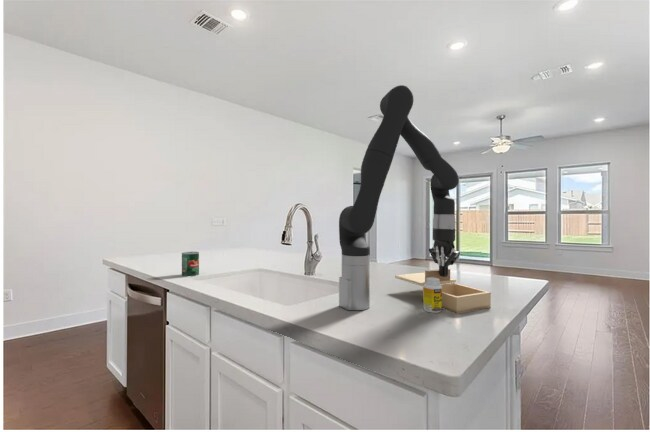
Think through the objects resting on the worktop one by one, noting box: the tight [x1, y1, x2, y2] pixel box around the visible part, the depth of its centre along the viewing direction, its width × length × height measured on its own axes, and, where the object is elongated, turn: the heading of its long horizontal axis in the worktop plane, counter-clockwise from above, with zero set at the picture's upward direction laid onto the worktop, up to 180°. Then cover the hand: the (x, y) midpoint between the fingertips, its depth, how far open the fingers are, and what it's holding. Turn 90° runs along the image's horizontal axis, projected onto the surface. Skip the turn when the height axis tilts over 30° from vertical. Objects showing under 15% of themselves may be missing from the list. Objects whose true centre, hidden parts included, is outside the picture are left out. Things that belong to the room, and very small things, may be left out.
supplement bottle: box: [422, 277, 443, 314], centre depth 103 cm, size 6×6×10 cm
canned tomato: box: [181, 251, 200, 277], centre depth 159 cm, size 8×8×11 cm
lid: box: [394, 268, 457, 287], centre depth 123 cm, size 16×16×5 cm
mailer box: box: [422, 282, 492, 315], centre depth 110 cm, size 15×15×5 cm
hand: (443, 276), depth 115 cm, fingers closed
